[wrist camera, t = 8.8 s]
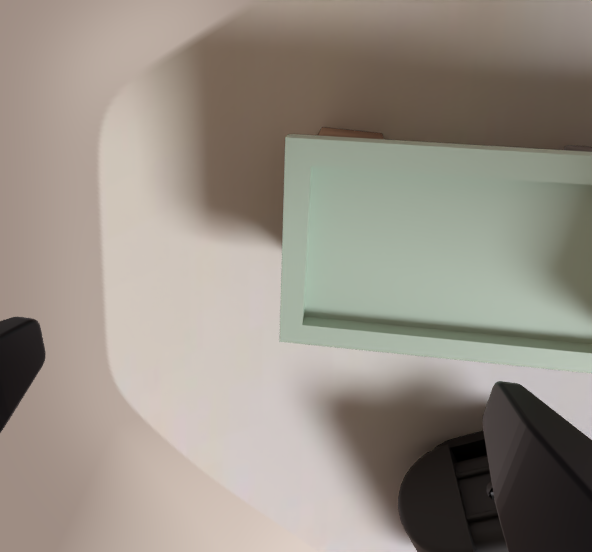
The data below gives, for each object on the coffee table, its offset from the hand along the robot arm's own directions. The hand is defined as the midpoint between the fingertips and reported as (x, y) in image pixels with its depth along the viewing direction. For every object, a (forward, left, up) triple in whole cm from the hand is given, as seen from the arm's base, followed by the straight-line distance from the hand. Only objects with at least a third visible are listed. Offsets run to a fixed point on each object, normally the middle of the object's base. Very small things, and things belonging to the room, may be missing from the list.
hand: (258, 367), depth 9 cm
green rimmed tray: (-10, 0, -8) cm, 12 cm away
